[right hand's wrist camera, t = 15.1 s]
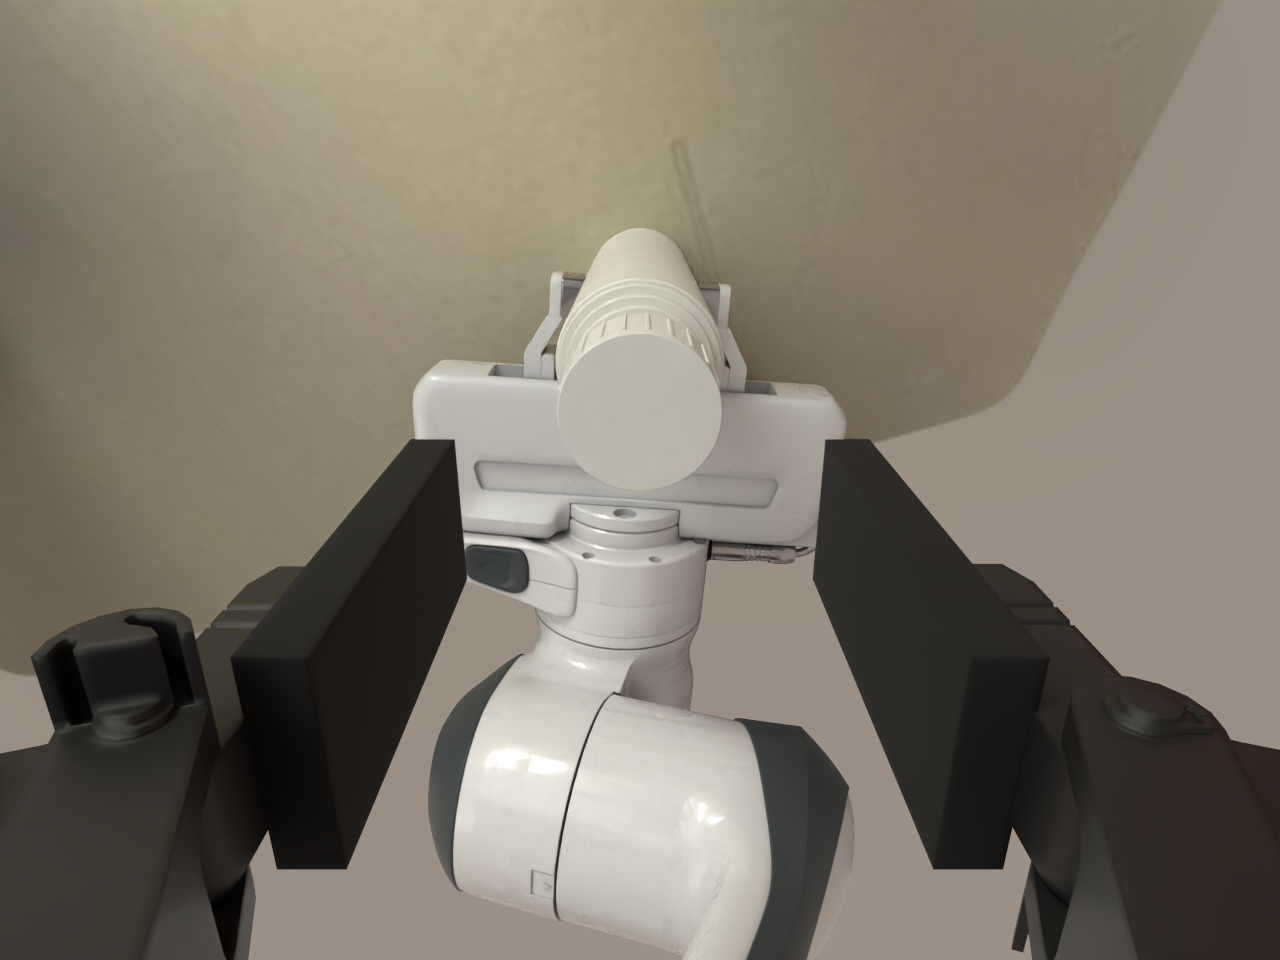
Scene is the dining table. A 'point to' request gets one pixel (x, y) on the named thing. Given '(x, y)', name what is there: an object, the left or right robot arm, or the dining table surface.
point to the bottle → (640, 293)
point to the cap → (639, 403)
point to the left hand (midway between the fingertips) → (640, 278)
